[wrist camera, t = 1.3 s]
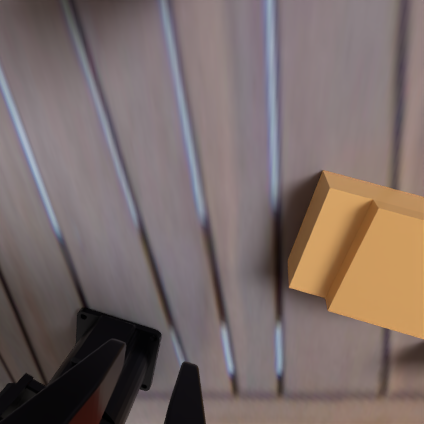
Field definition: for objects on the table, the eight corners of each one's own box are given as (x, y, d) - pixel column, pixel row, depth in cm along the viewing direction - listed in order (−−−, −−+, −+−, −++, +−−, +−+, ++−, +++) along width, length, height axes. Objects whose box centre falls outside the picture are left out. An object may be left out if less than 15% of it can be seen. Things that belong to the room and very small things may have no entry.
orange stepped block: (399, 290, 20) (425, 339, 17) (287, 258, 21) (289, 299, 17) (452, 203, 18) (496, 240, 14) (322, 168, 18) (333, 195, 14)
